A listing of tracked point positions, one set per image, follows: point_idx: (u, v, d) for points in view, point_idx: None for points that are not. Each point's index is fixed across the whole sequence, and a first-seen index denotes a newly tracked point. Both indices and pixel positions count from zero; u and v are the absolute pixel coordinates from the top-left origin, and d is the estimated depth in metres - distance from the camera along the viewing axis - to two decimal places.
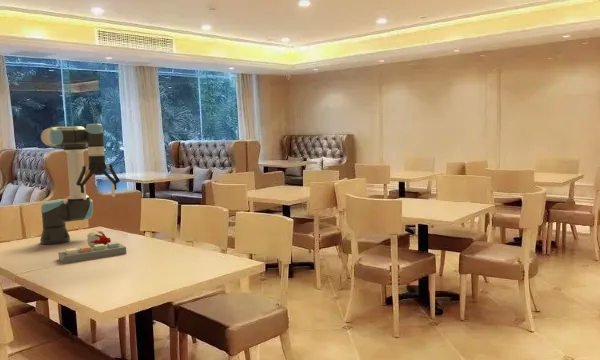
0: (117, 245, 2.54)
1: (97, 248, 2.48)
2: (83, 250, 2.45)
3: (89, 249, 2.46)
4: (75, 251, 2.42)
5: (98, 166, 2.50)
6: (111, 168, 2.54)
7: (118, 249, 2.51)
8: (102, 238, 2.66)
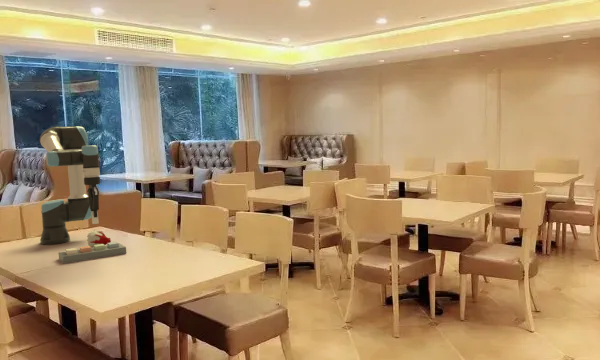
0: (117, 245, 2.54)
1: (97, 248, 2.48)
2: (83, 250, 2.45)
3: (89, 249, 2.46)
4: (75, 251, 2.42)
5: None
6: (93, 194, 2.48)
7: (118, 249, 2.51)
8: (102, 238, 2.66)
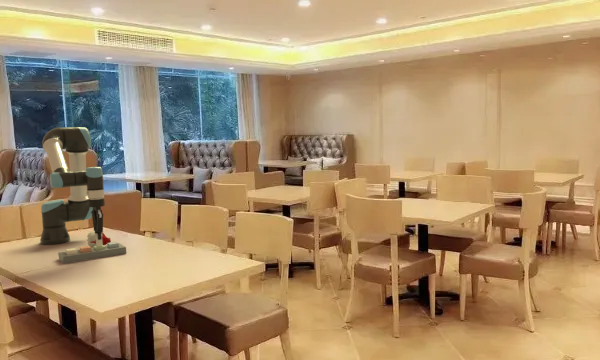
0: (117, 245, 2.54)
1: (97, 249, 2.48)
2: (83, 250, 2.45)
3: (89, 249, 2.46)
4: (75, 251, 2.42)
5: (94, 206, 2.47)
6: (97, 217, 2.45)
7: (118, 249, 2.51)
8: (102, 238, 2.66)
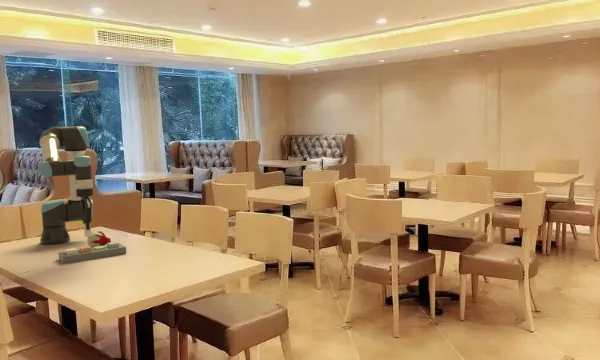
0: (117, 245, 2.54)
1: None
2: (83, 250, 2.45)
3: (89, 249, 2.46)
4: (75, 251, 2.42)
5: None
6: (85, 207, 2.42)
7: (118, 249, 2.51)
8: (102, 238, 2.66)
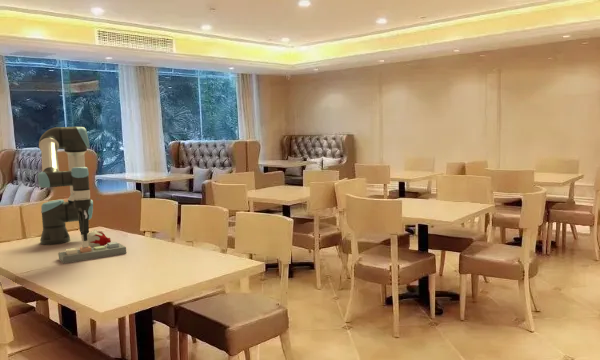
0: (117, 245, 2.54)
1: None
2: (83, 250, 2.45)
3: (89, 249, 2.46)
4: (75, 251, 2.42)
5: None
6: (83, 218, 2.41)
7: (118, 249, 2.51)
8: (102, 238, 2.66)
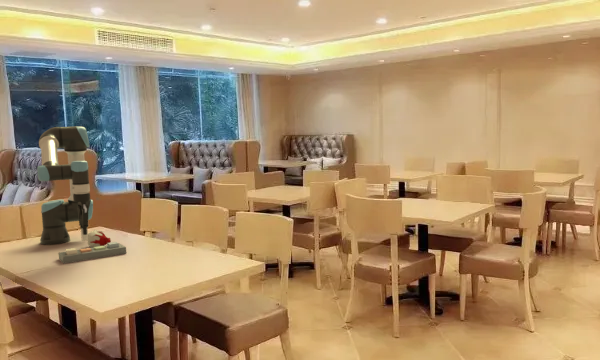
0: (117, 245, 2.54)
1: None
2: None
3: None
4: (75, 251, 2.42)
5: None
6: (82, 212, 2.41)
7: (118, 249, 2.51)
8: (102, 238, 2.66)
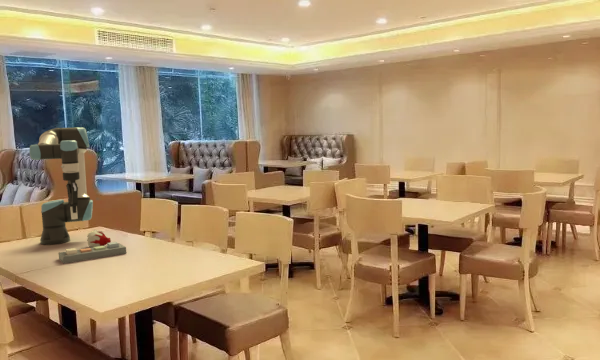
0: (117, 245, 2.54)
1: None
2: None
3: None
4: (75, 251, 2.42)
5: None
6: (72, 190, 2.46)
7: (118, 249, 2.51)
8: (102, 238, 2.66)
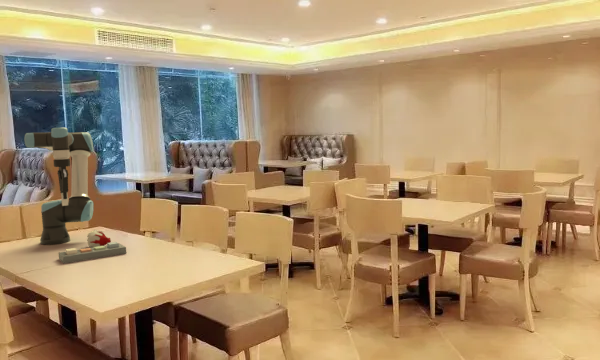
0: (117, 245, 2.54)
1: None
2: None
3: None
4: (75, 251, 2.42)
5: None
6: (62, 176, 2.50)
7: (118, 249, 2.51)
8: (102, 238, 2.66)
